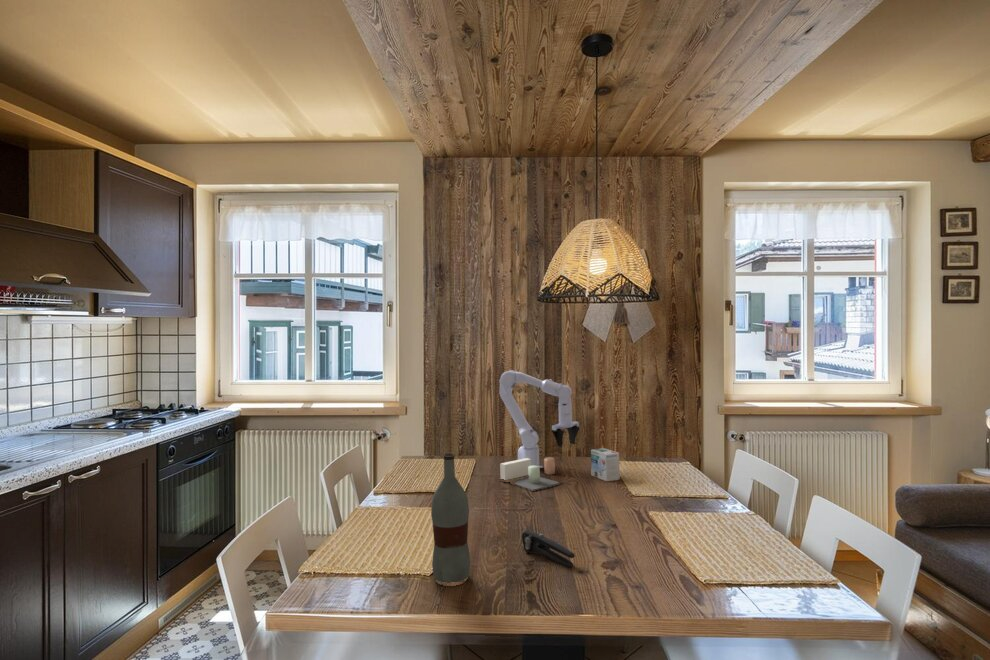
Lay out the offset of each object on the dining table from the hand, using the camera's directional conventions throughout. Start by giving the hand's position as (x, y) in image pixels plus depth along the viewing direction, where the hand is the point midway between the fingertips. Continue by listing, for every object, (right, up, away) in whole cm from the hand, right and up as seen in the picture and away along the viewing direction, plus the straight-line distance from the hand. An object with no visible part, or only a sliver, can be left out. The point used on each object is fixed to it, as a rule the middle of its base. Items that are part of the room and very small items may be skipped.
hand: (566, 444), depth 226 cm
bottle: (-41, -10, -100) cm, 109 cm away
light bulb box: (+14, -10, -15) cm, 23 cm away
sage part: (-15, -10, -22) cm, 29 cm away
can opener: (-17, -10, -89) cm, 91 cm away
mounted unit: (-22, -11, -14) cm, 28 cm away
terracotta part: (-8, -10, -6) cm, 14 cm away
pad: (-16, -11, -22) cm, 29 cm away
